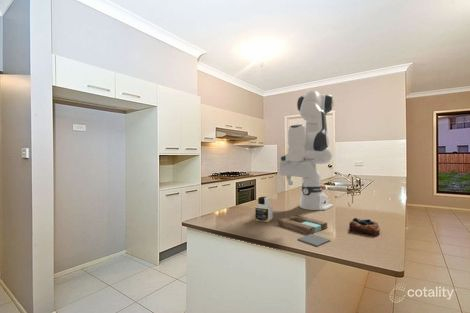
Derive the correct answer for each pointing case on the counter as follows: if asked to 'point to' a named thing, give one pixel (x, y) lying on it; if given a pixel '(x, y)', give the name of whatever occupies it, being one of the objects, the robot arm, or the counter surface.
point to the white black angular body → (263, 210)
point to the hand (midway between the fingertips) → (297, 185)
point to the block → (317, 226)
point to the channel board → (297, 221)
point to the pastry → (364, 227)
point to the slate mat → (314, 240)
